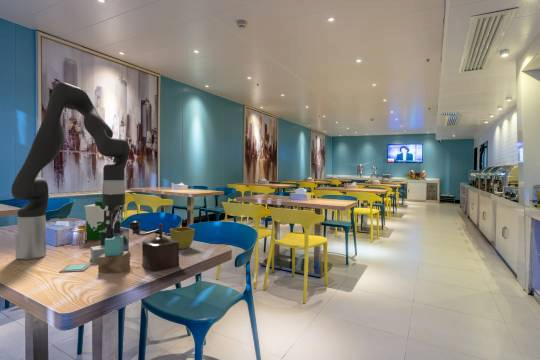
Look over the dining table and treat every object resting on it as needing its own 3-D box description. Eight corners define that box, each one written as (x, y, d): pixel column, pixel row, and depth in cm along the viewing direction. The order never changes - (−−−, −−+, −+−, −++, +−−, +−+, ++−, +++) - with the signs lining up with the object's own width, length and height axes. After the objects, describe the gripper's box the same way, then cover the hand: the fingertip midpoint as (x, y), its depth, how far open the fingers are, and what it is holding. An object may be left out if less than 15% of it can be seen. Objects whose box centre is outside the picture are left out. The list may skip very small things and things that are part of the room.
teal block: (104, 255, 109) (104, 239, 109) (108, 252, 114) (108, 236, 114) (119, 255, 111) (119, 238, 110) (123, 251, 115) (123, 236, 115)
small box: (112, 257, 127) (112, 232, 127) (99, 256, 129) (99, 231, 129) (129, 251, 138) (129, 228, 137) (117, 250, 139) (117, 227, 139)
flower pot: (185, 244, 151) (185, 226, 150) (195, 247, 145) (195, 229, 144) (169, 247, 145) (169, 228, 144) (178, 251, 138) (178, 231, 138)
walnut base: (98, 273, 108) (98, 257, 108) (108, 266, 116) (108, 251, 116) (121, 273, 109) (121, 257, 108) (129, 266, 117) (129, 251, 116)
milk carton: (98, 241, 155) (97, 202, 154) (82, 240, 156) (81, 201, 156) (109, 237, 164) (109, 200, 163) (94, 236, 165) (94, 200, 164)
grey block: (93, 250, 120) (90, 247, 125) (93, 262, 120) (90, 259, 125) (107, 248, 123) (104, 245, 128) (107, 260, 124) (104, 256, 128)
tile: (59, 272, 108) (59, 271, 108) (69, 265, 116) (69, 264, 116) (83, 271, 110) (83, 270, 110) (92, 264, 118) (92, 263, 118)
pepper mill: (165, 259, 125) (165, 216, 124) (179, 266, 117) (179, 219, 117) (127, 268, 114) (127, 220, 113) (139, 275, 106) (139, 224, 106)
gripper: (109, 190, 118) (109, 232, 119) (95, 193, 104) (95, 240, 105) (129, 190, 119) (129, 231, 120) (119, 194, 105) (118, 240, 106)
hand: (113, 235), depth 112 cm, fingers open, 8 cm apart
